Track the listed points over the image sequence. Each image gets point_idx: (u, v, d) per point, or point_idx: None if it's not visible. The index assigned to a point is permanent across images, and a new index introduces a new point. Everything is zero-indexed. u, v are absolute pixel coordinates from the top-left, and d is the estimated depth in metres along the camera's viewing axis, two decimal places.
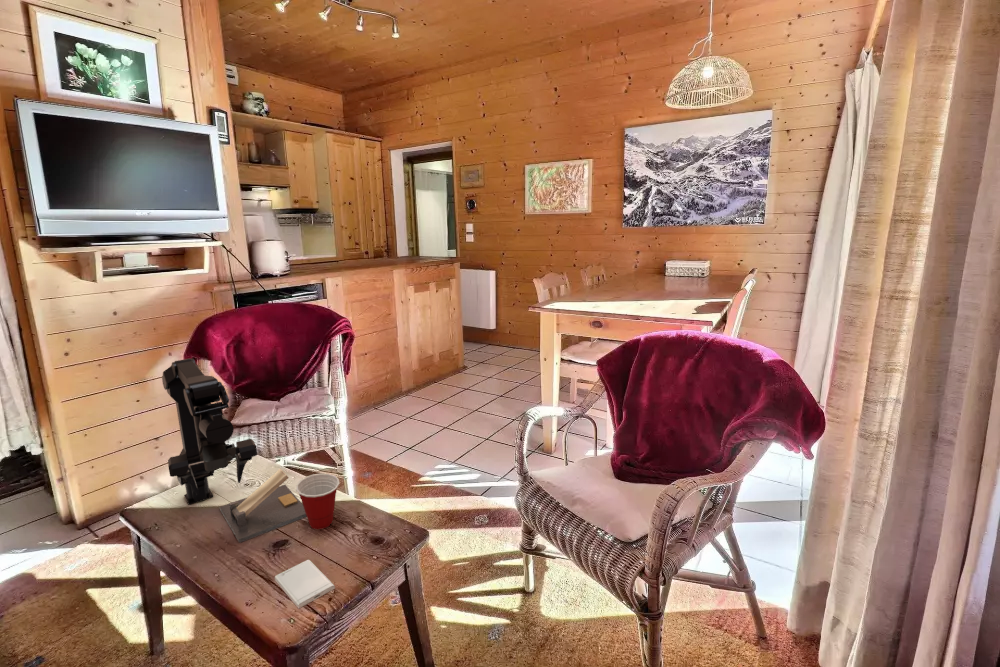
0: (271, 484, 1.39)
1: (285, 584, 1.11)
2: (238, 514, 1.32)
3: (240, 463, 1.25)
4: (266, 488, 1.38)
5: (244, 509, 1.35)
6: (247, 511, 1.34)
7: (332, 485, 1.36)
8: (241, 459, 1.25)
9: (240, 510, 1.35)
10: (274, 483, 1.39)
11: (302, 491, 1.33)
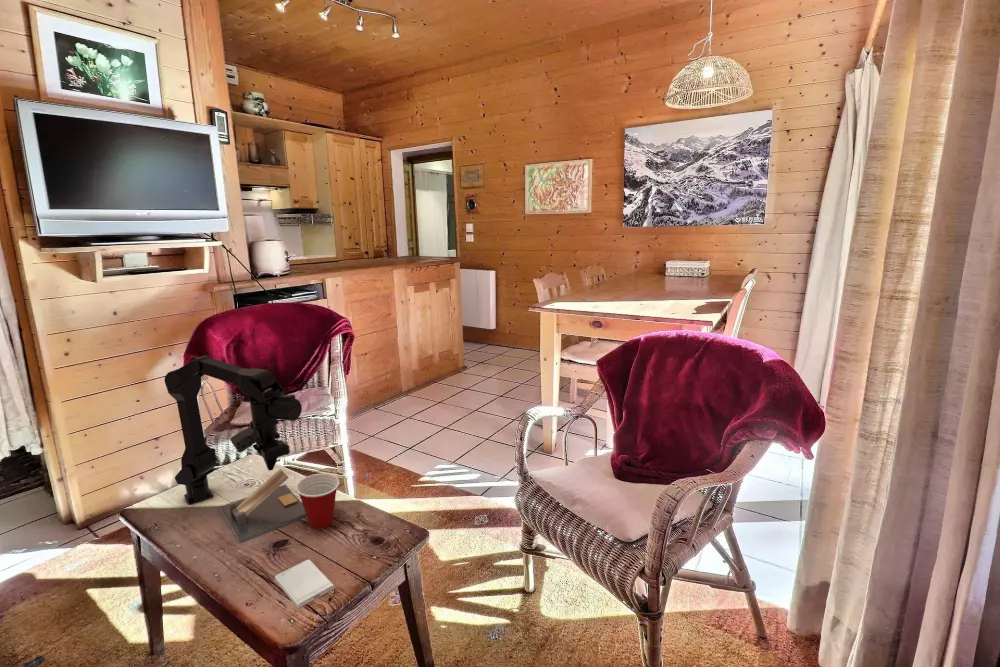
0: (271, 484, 1.39)
1: (285, 584, 1.11)
2: (238, 514, 1.32)
3: None
4: (266, 488, 1.38)
5: (244, 509, 1.35)
6: (247, 511, 1.34)
7: (332, 485, 1.36)
8: (260, 450, 1.35)
9: (240, 510, 1.35)
10: (274, 483, 1.39)
11: (302, 491, 1.33)
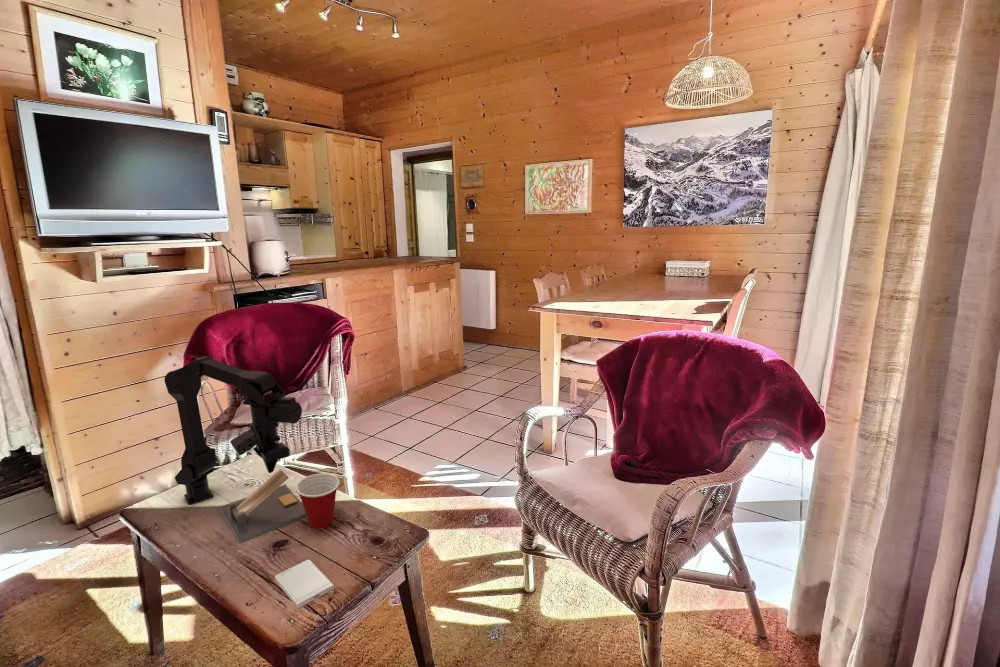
0: (271, 484, 1.39)
1: (285, 584, 1.11)
2: (238, 514, 1.32)
3: None
4: (266, 488, 1.38)
5: (244, 509, 1.35)
6: (247, 511, 1.34)
7: (332, 485, 1.36)
8: (260, 453, 1.35)
9: (240, 510, 1.35)
10: (274, 483, 1.39)
11: (302, 491, 1.33)
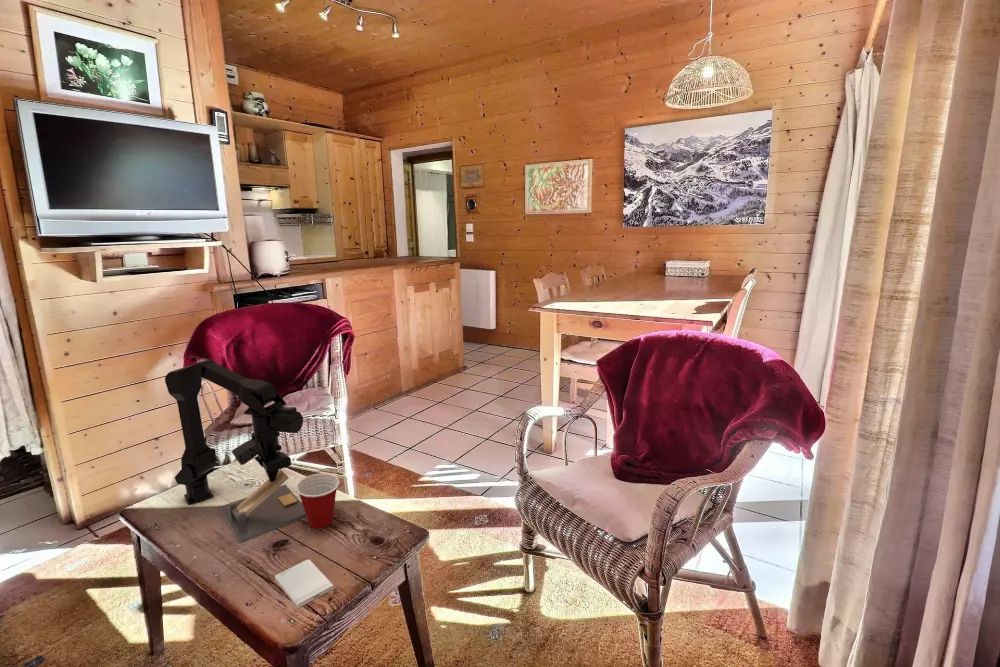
0: (271, 485, 1.39)
1: (285, 584, 1.11)
2: (238, 514, 1.32)
3: None
4: (266, 488, 1.38)
5: (244, 509, 1.35)
6: (247, 511, 1.34)
7: (332, 485, 1.36)
8: (262, 462, 1.36)
9: (240, 510, 1.35)
10: (274, 483, 1.39)
11: (302, 491, 1.33)
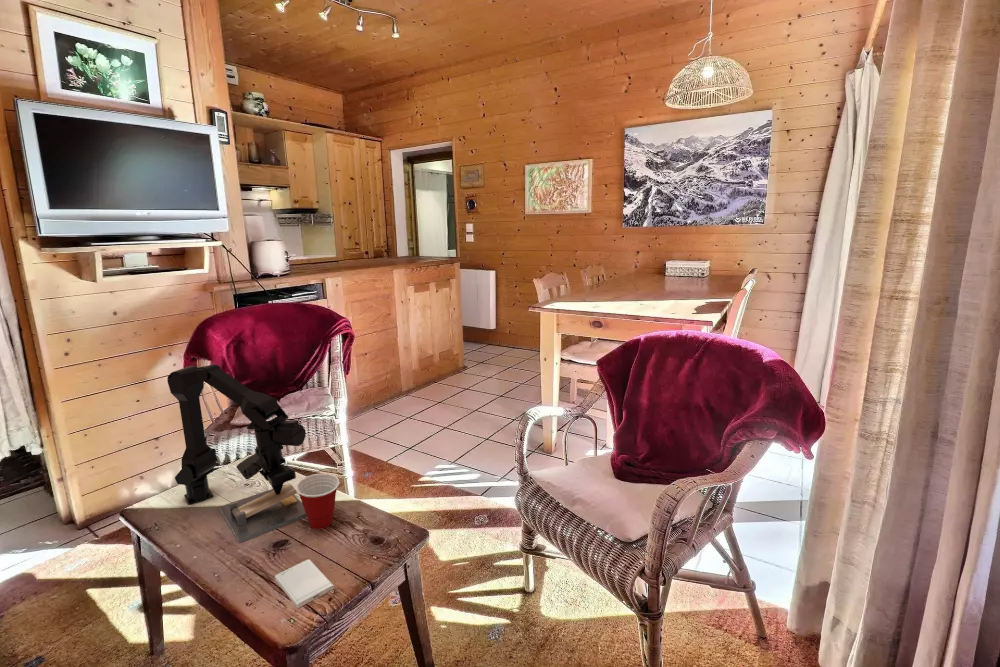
0: (278, 495, 1.41)
1: (285, 583, 1.11)
2: (238, 514, 1.32)
3: None
4: (272, 497, 1.40)
5: (246, 511, 1.35)
6: (249, 513, 1.35)
7: (332, 485, 1.36)
8: (267, 476, 1.37)
9: None
10: (282, 494, 1.41)
11: (302, 491, 1.33)
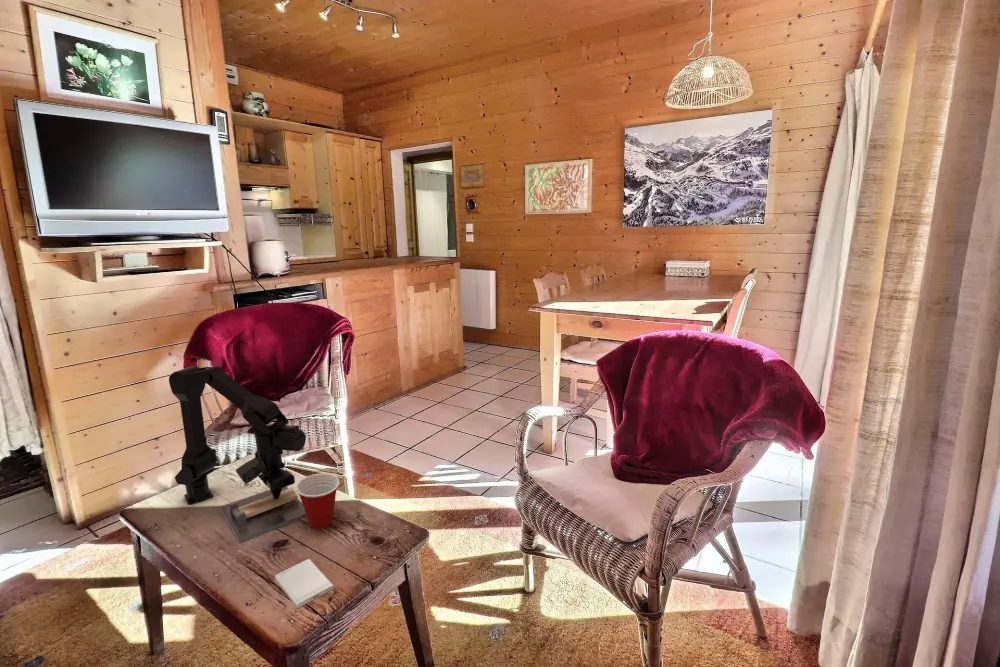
0: (279, 498, 1.41)
1: (285, 584, 1.11)
2: (238, 514, 1.32)
3: None
4: (273, 500, 1.40)
5: (247, 511, 1.35)
6: (249, 514, 1.35)
7: (332, 485, 1.36)
8: (266, 480, 1.37)
9: None
10: (283, 498, 1.41)
11: (302, 491, 1.33)
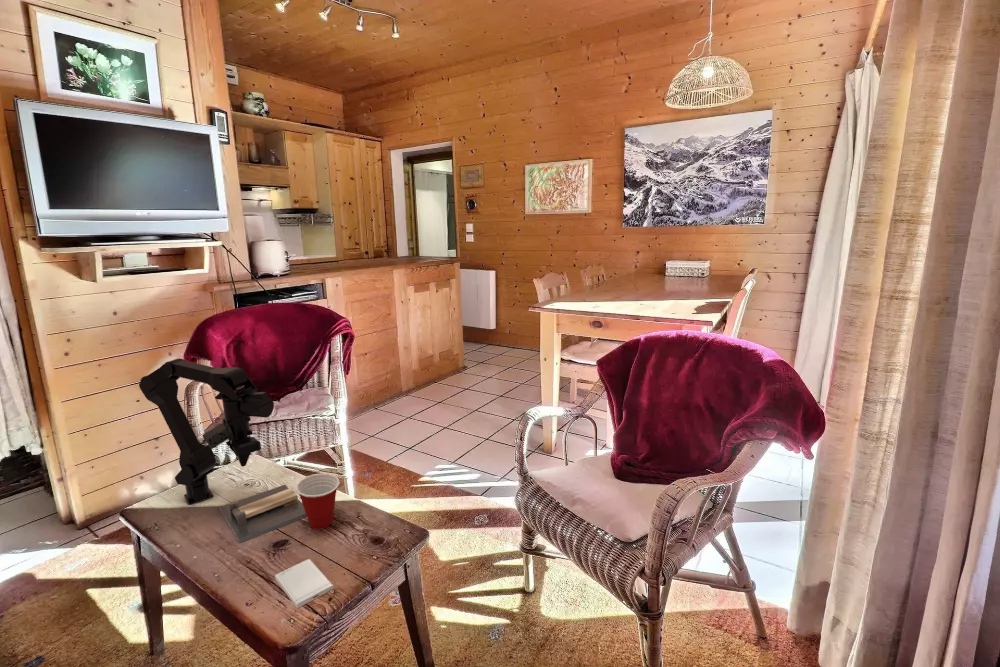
0: (279, 498, 1.41)
1: (285, 583, 1.11)
2: (238, 514, 1.32)
3: None
4: (273, 500, 1.40)
5: (247, 511, 1.35)
6: (249, 514, 1.35)
7: (332, 485, 1.36)
8: (232, 446, 1.38)
9: None
10: (283, 498, 1.41)
11: (302, 491, 1.33)
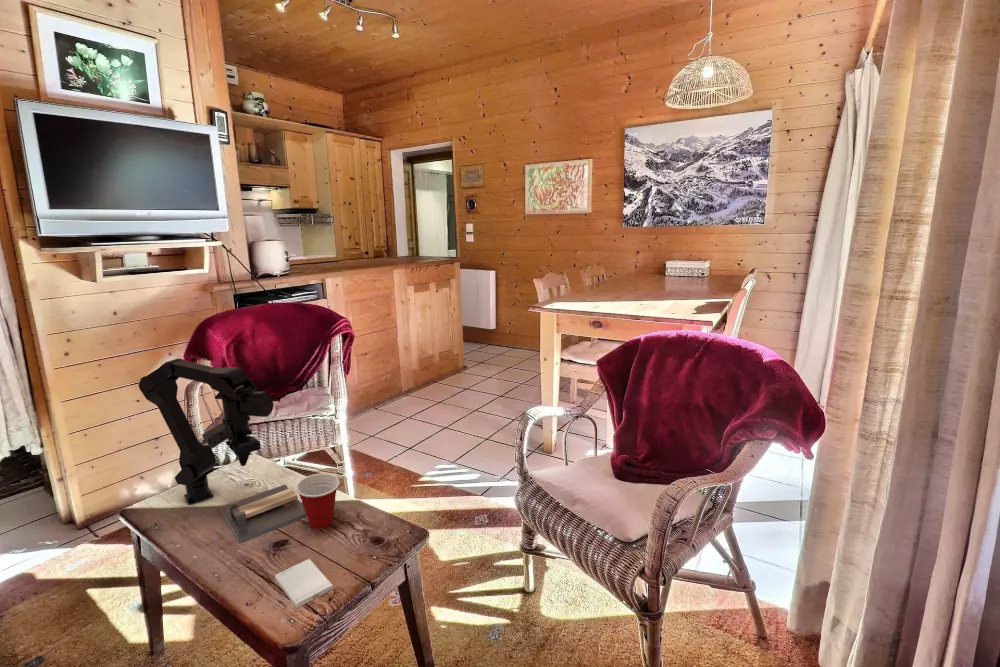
0: (279, 498, 1.41)
1: (285, 583, 1.11)
2: (238, 514, 1.32)
3: None
4: (273, 500, 1.40)
5: (247, 511, 1.35)
6: (249, 514, 1.35)
7: (332, 485, 1.36)
8: None
9: None
10: (283, 498, 1.41)
11: (302, 491, 1.33)
